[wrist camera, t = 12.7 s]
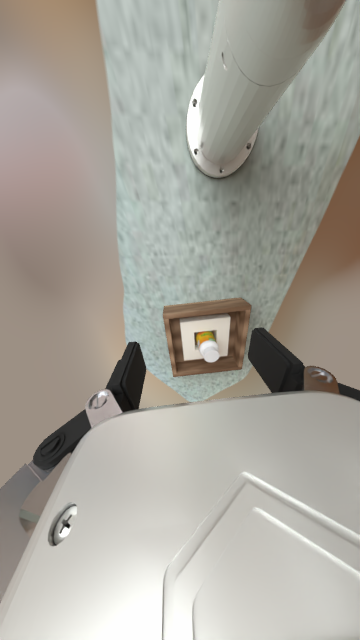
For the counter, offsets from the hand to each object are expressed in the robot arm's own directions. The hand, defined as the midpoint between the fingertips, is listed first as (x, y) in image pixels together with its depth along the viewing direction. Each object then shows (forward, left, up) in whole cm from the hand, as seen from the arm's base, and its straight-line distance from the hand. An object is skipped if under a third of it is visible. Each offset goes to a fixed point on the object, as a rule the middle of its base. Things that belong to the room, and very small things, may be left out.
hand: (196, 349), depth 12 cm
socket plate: (+18, +6, -28) cm, 34 cm away
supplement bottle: (+18, +6, -28) cm, 33 cm away
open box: (+18, +6, -28) cm, 34 cm away
